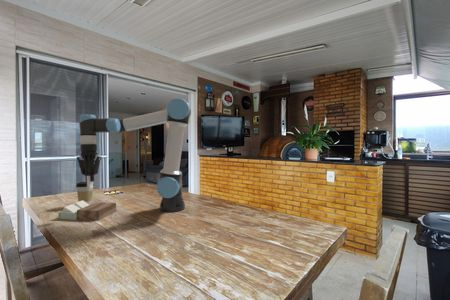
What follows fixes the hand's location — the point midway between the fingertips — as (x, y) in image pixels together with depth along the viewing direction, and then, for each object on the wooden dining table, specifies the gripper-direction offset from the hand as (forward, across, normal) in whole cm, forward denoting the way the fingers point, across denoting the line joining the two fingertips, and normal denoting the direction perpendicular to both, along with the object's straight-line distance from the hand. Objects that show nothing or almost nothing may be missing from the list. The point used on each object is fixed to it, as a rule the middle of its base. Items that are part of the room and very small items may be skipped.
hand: (90, 187), depth 123 cm
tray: (+16, +10, -4) cm, 19 cm away
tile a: (+11, +10, -8) cm, 17 cm away
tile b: (+11, +10, 0) cm, 15 cm away
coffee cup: (+16, +19, -21) cm, 32 cm away
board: (+16, -1, -4) cm, 17 cm away
